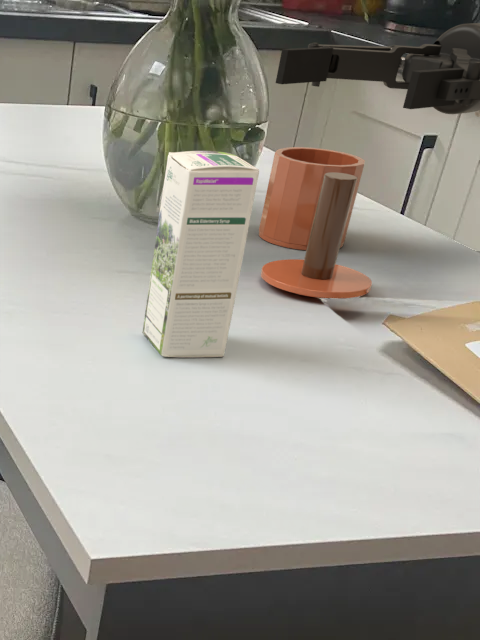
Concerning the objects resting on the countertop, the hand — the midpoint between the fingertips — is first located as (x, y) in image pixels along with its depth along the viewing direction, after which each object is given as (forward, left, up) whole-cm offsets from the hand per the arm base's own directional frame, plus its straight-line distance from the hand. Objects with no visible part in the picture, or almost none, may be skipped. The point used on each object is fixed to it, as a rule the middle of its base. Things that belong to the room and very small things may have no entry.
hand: (343, 78), depth 93 cm
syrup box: (+14, +16, -19) cm, 28 cm away
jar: (-7, -20, -18) cm, 28 cm away
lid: (-3, -2, -18) cm, 18 cm away
